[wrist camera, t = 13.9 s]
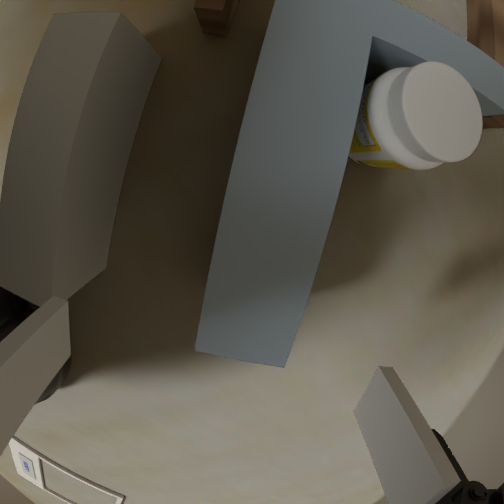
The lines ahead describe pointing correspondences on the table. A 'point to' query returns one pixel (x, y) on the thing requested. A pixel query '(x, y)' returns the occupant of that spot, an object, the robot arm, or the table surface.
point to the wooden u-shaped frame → (479, 34)
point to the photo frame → (31, 469)
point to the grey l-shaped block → (308, 158)
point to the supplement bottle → (416, 119)
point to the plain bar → (71, 152)
